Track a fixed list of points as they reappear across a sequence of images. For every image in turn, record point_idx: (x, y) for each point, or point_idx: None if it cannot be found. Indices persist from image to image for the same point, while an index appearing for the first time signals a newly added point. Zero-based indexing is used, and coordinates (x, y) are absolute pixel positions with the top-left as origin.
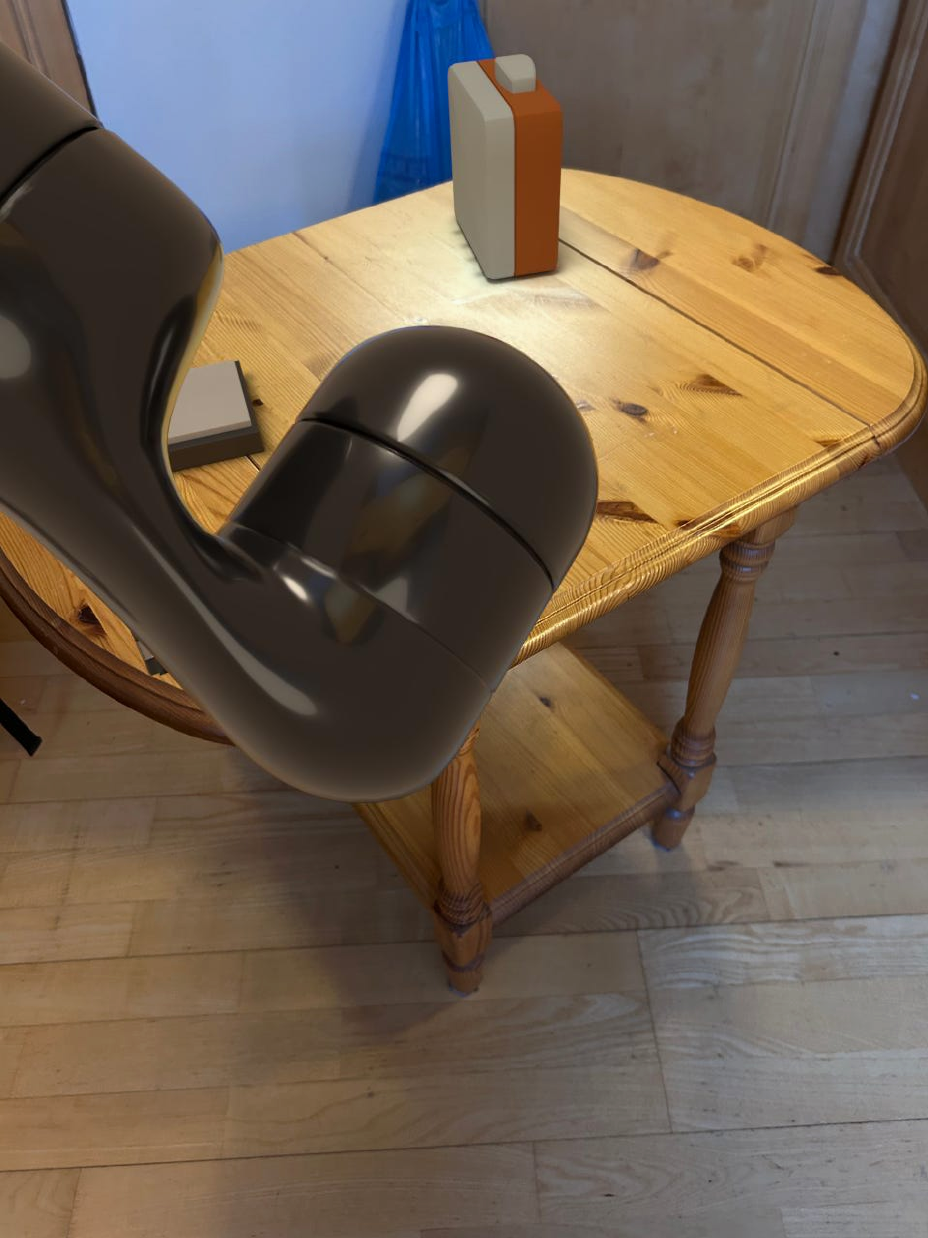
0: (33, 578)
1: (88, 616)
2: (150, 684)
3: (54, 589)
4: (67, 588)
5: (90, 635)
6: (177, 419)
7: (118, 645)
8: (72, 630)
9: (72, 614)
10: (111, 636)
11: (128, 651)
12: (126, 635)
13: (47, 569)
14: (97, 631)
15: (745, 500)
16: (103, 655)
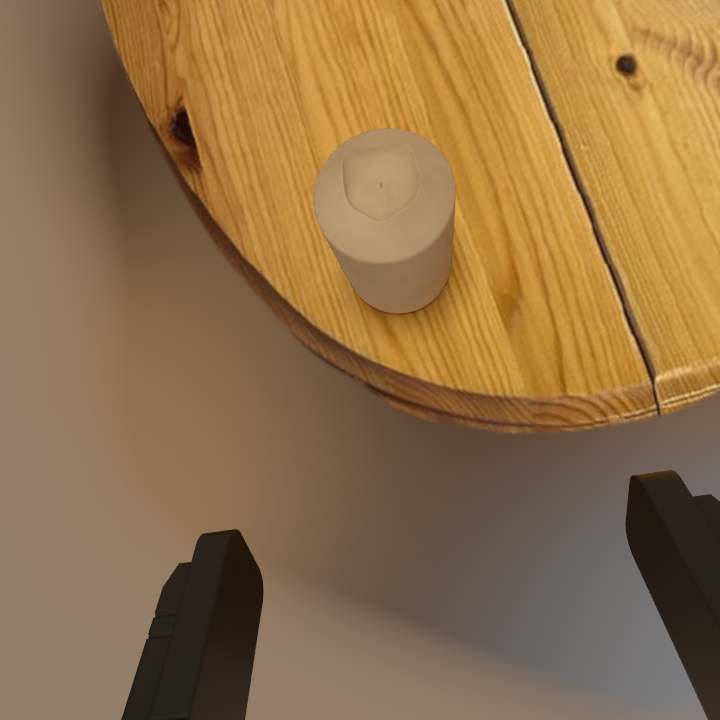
0: (123, 39)
1: (183, 129)
2: (244, 274)
3: (147, 67)
4: (163, 70)
5: (181, 164)
6: None
7: (213, 192)
8: (160, 148)
9: (164, 119)
10: (207, 174)
11: (225, 207)
12: (226, 178)
13: (142, 28)
14: (191, 159)
15: None
16: (193, 204)
